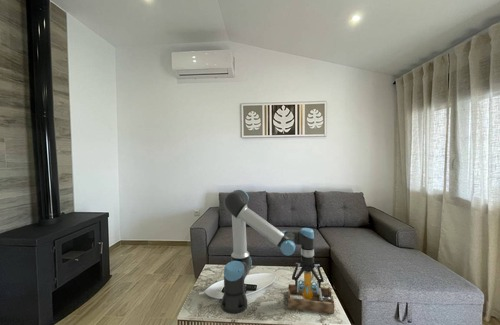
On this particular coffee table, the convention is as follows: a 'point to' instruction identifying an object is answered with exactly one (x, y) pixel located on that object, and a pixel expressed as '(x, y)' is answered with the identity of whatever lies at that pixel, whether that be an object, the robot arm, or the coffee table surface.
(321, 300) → the pusher
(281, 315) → the coffee table surface
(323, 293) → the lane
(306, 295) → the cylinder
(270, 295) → the coffee table surface
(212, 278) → the coffee table surface
